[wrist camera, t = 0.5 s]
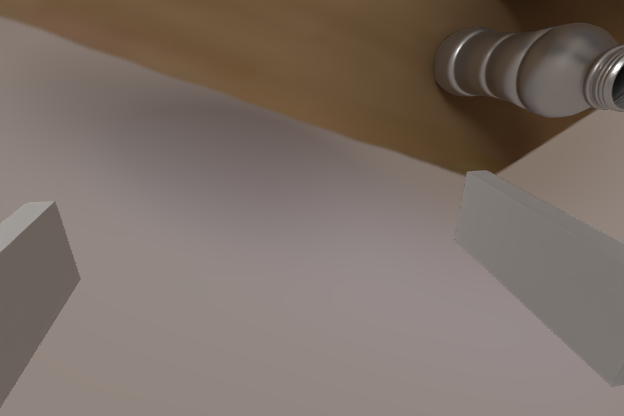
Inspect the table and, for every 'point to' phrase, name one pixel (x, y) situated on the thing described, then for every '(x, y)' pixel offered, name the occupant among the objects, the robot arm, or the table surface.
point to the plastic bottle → (535, 68)
